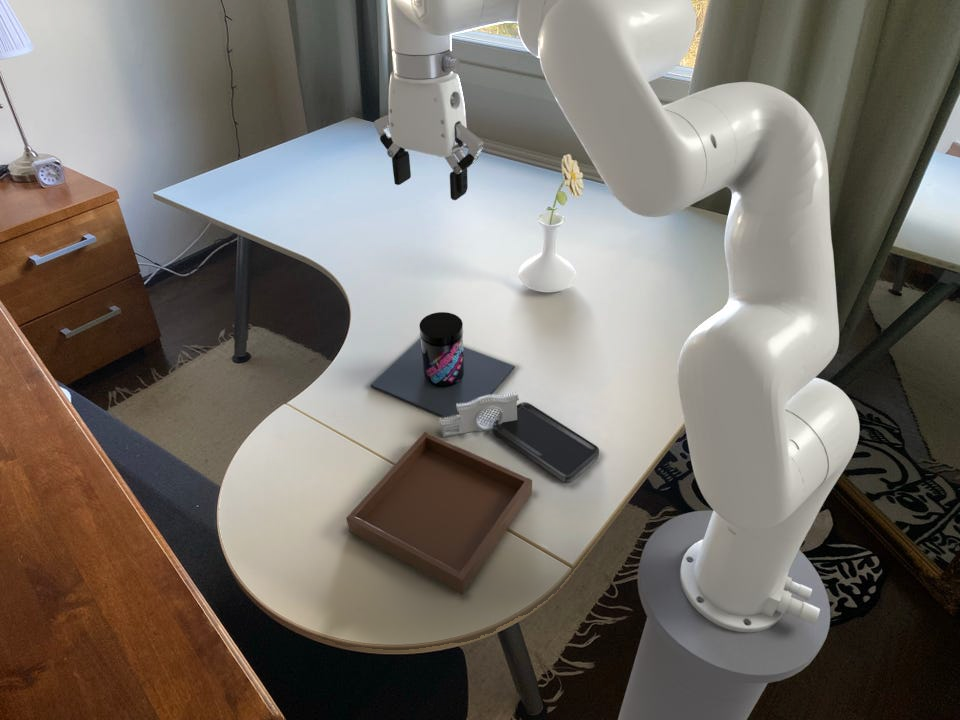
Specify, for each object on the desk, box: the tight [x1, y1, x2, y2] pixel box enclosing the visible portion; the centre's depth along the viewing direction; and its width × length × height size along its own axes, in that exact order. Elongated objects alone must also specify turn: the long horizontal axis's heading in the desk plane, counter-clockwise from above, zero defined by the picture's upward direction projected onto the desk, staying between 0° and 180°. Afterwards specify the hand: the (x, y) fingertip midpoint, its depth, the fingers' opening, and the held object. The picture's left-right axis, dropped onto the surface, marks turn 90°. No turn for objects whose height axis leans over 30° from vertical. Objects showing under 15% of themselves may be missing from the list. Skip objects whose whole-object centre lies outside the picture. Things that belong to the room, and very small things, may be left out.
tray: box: [345, 431, 533, 595], centre depth 88 cm, size 18×18×3 cm
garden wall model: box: [438, 391, 520, 438], centre depth 99 cm, size 12×2×6 cm, turn 103°
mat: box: [370, 338, 516, 419], centre depth 110 cm, size 18×16×1 cm
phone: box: [492, 401, 600, 483], centre depth 98 cm, size 8×1×15 cm
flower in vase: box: [517, 153, 585, 293], centre depth 124 cm, size 13×11×25 cm
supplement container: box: [418, 311, 464, 387], centre depth 106 cm, size 7×7×10 cm
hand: (430, 188), depth 95 cm, fingers open, 9 cm apart
